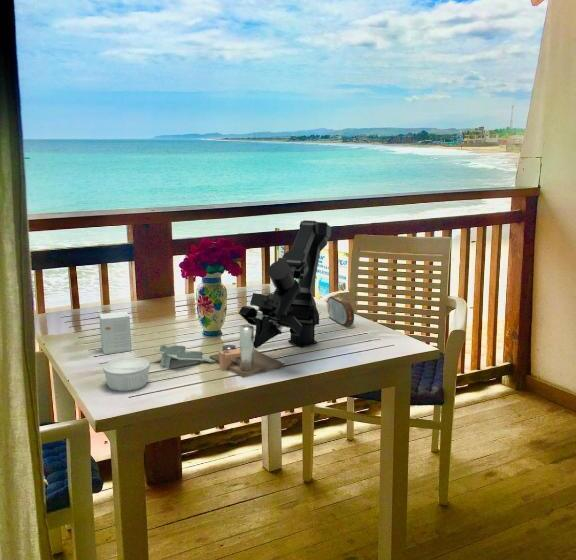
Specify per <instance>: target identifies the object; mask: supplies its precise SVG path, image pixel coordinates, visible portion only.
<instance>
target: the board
mask: <svg viewBox="0 0 576 560" xmlns="http://www.w3.org/2000/svg"><path fill="white" fill-rule="evenodd" d="M209 358H210V359H212V360H214V361H216V362H215V363H216V364H218V365H219V366H220V364H219V353H216V354H212V355H209ZM284 367H285V363H284V362H283V361H280V360H278V359H276V358H274V357H271V356H269V355H267V354H266V353H263V352H261V351H258V350H256V348H254V369H252V370H241V369H240V366H239V365H237V364H236V363H235V362H233V361H232V360H231V365H228V369H227V370H229V371H231V372H233V373H234V374H236V375H238V376H240V377H242V378H245V377H250V376H253V375H258V374H261V373H265V372H269V371H272V370H276V369H279V368H280V369H281V368H284Z"/></svg>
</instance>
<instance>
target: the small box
mask: <svg viewBox="0 0 576 560" xmlns="http://www.w3.org/2000/svg"><path fill="white" fill-rule="evenodd" d="M98 317H99V331H100V343H101V344H100V346H101V350H102V354H103V355H107V354H108V355H109V354H116V353H117V354H118V353H124V352H132V336H131V335H132V334H131V321H130V320H131V318H130V315H129V313H128V311H118V312H107V313H99V315H98Z"/></svg>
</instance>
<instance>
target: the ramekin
mask: <svg viewBox="0 0 576 560" xmlns="http://www.w3.org/2000/svg"><path fill="white" fill-rule="evenodd" d="M150 367H151V366H150V361H149V360H147V359H146V358H141V357H132V356H131V357H128V356H127V357H119V358H116V359H113V360H110V361H108V362H106V363H105V364H104V365H103V367H102V370H103V373H104V375H105V380H106V384H107V386H108V387H109V388H110V389H111V390H114V391H116V390H118V391H117V392H130V391H131V390H132V391H135V390H139V389H142V388H143V387H144V386H146V384H147V383H148V381H149V371H150Z"/></svg>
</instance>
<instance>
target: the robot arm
mask: <svg viewBox="0 0 576 560" xmlns="http://www.w3.org/2000/svg"><path fill="white" fill-rule="evenodd" d="M331 236H332V228H331V226H330V225H329V224H328V223H327V222H324V221H321V222H320V221H316V220H306V219H305V220H301V221H300V223H299V230H298V231H297V234H296V237H295V240H294V241H293V244H292V245H291V248H290V250H288V251H287V252H284V254H283V255H282V257H278V259H277V261H274V262H272V263H271V264H270V265H269V267H268V268H267V273H268V277H269V278H270V281H271V282H272V284H273V286H274V288H275V289H274V291H273V293H271V292H270V293H269V294H267V295H266V294H262V293H261V294H260V293H256V292H253V293H252V296H251V300H250V302H249V305H250V306H248V305H244V306H242V307H241V308H240V310H239V311H238V315H240V316H241V318H243V319H244V320H245V322H246V323H247V324H248V325H250V326H255V334H254V349H258V348H260V347H261V346H262V345H264V344H266V343H267V342H268V341H269V340H272V339H273V338H274V337H276V336H278V335H282V334H283V333H282V330H283V328H289V333H290V339H288V343H290V344H293V345H295V346H297V347H299V348H303V347H308V346H312V345H316V344H319V342H318V341H317V340H315V326H319V325H320V313H319V310H318V308H317V303H316V301H315V298H314V296H313V292H314V287H315V282H316V277H317V271H318V266H319V260H320V255H321V251H322V250H324V248H326V246H328V242H329V238H331ZM296 279H297V280H296ZM252 306H255V307H258V308H257V309H256V308H255V307H252ZM259 311H260V312H259Z"/></svg>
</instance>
